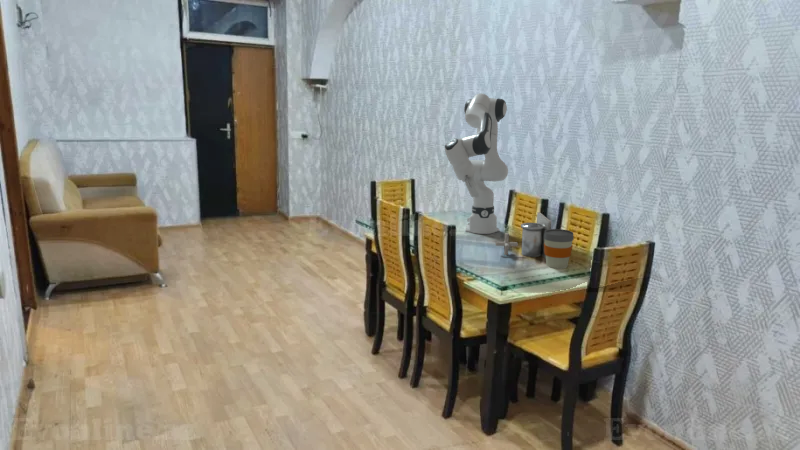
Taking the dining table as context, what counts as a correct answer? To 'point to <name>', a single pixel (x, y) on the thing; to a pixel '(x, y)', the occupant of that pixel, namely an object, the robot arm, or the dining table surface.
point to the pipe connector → (506, 244)
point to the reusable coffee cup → (558, 247)
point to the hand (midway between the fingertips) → (477, 196)
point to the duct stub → (535, 236)
